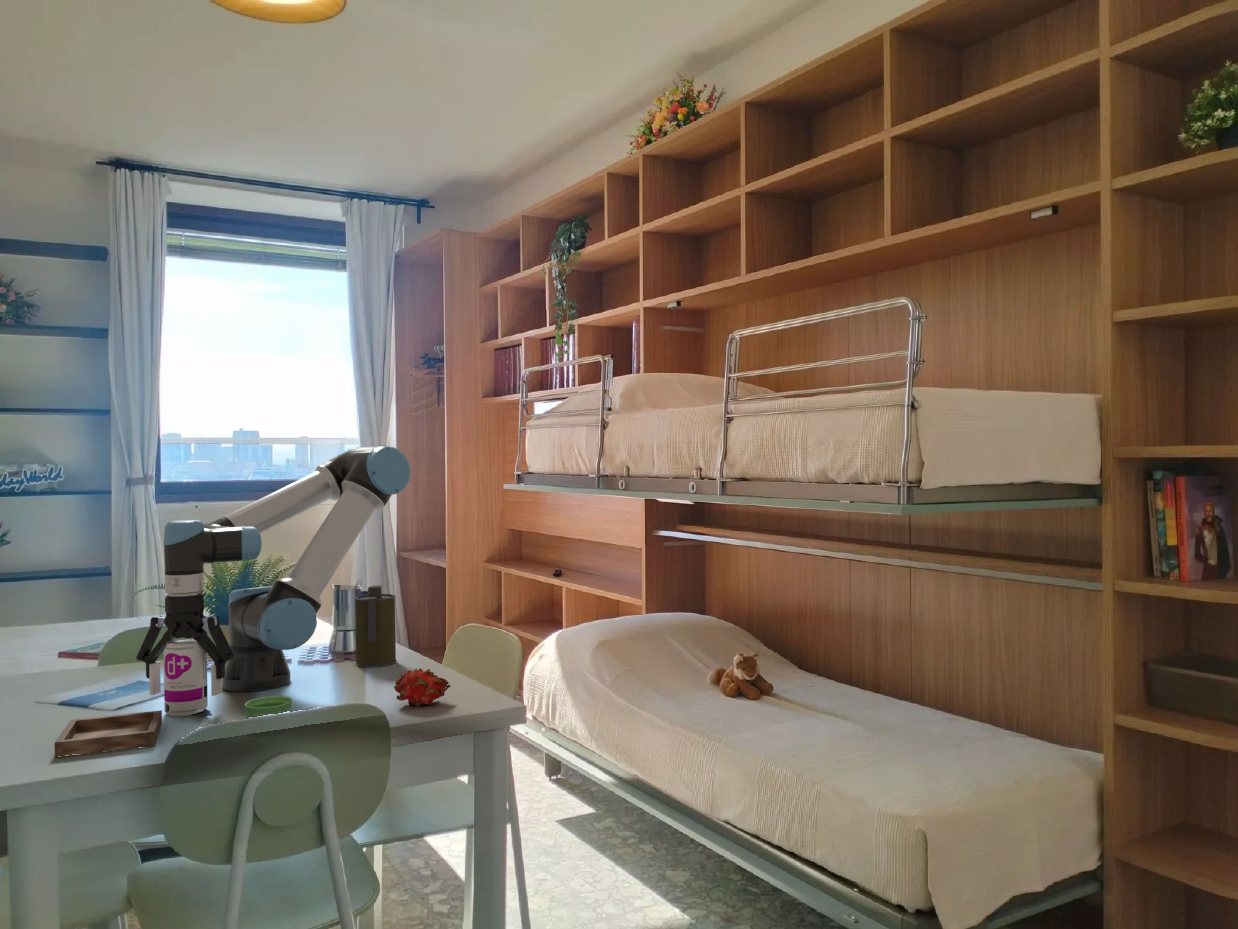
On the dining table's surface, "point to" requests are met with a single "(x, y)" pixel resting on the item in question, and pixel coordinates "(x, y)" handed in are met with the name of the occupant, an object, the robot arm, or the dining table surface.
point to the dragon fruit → (420, 687)
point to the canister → (375, 628)
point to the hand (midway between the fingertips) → (185, 694)
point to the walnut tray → (109, 733)
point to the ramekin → (267, 706)
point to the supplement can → (185, 677)
